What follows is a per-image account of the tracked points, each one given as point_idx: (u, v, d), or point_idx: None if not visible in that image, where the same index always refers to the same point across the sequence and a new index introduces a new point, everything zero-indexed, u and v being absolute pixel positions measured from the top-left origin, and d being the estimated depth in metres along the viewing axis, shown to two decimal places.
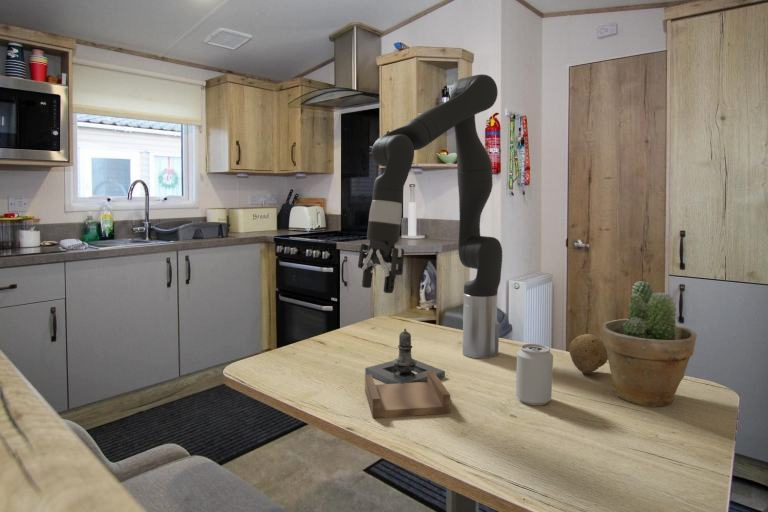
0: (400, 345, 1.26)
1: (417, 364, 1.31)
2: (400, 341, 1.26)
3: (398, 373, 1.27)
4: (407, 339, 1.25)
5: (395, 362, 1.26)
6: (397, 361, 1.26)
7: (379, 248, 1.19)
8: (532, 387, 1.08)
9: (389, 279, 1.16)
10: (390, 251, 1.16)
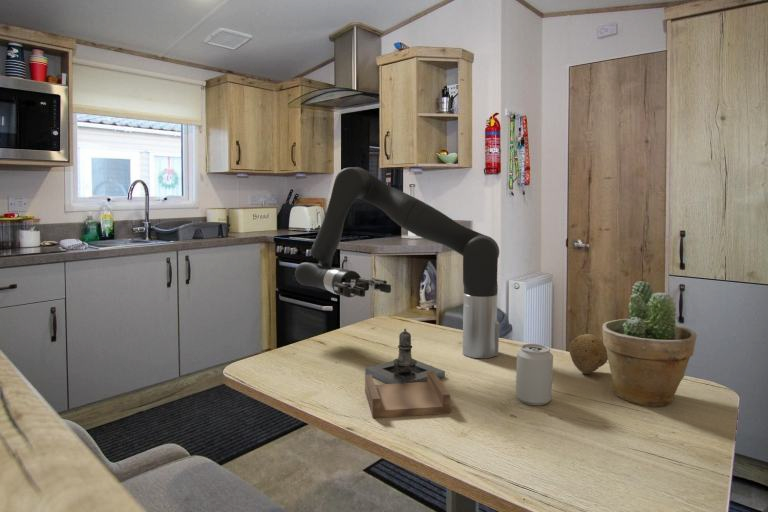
0: (400, 345, 1.26)
1: (417, 364, 1.31)
2: (400, 341, 1.26)
3: (398, 373, 1.27)
4: (407, 339, 1.25)
5: (395, 362, 1.26)
6: (397, 361, 1.26)
7: None
8: (532, 387, 1.08)
9: (354, 293, 1.33)
10: None
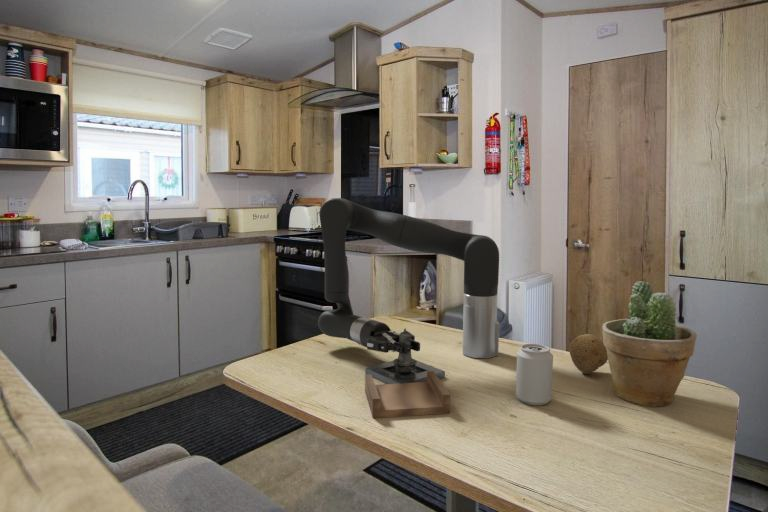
0: None
1: (417, 364, 1.31)
2: (400, 341, 1.26)
3: (398, 373, 1.27)
4: (407, 339, 1.25)
5: (395, 362, 1.26)
6: (397, 361, 1.26)
7: None
8: (532, 387, 1.08)
9: None
10: None
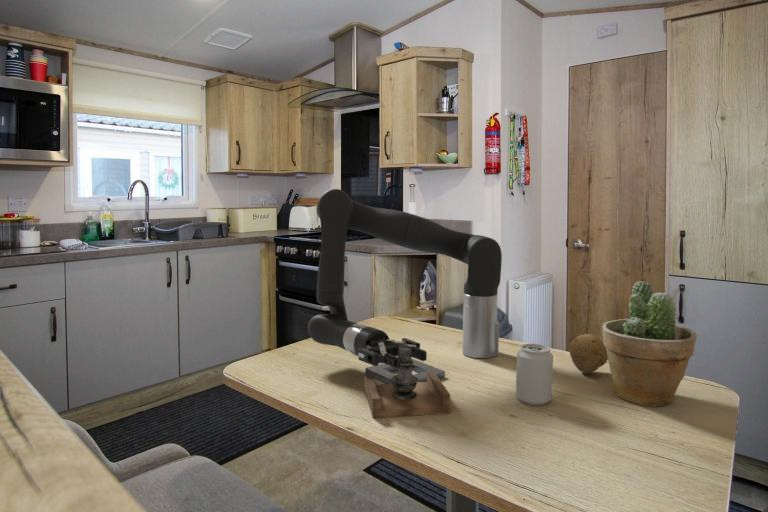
0: None
1: (417, 364, 1.31)
2: (399, 356, 1.09)
3: (397, 392, 1.11)
4: (408, 353, 1.09)
5: (393, 380, 1.10)
6: (396, 379, 1.10)
7: None
8: (532, 387, 1.08)
9: None
10: None
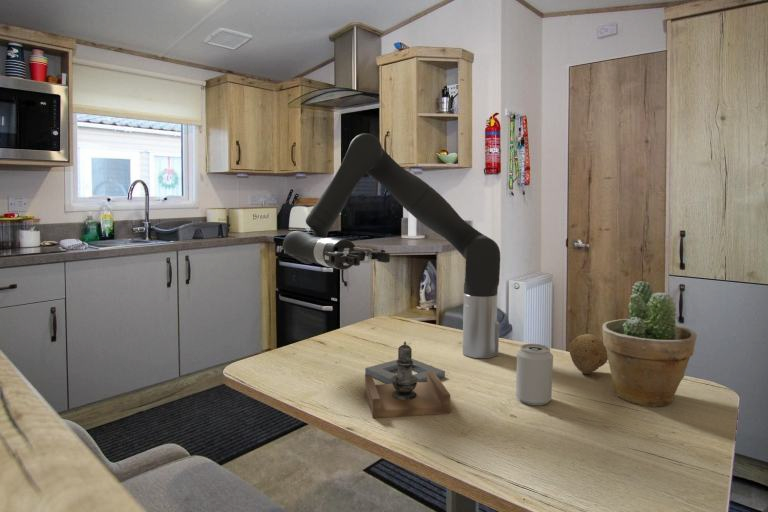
0: (399, 360, 1.09)
1: (417, 364, 1.31)
2: (399, 356, 1.09)
3: (397, 392, 1.11)
4: (408, 353, 1.09)
5: (393, 380, 1.10)
6: (396, 379, 1.10)
7: None
8: (532, 387, 1.08)
9: (347, 262, 1.16)
10: None
